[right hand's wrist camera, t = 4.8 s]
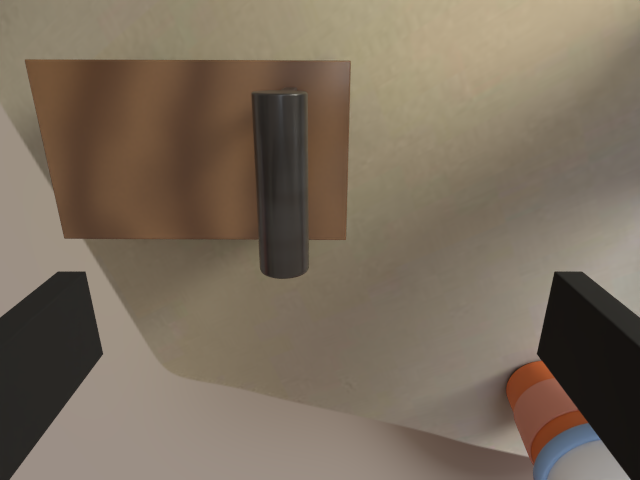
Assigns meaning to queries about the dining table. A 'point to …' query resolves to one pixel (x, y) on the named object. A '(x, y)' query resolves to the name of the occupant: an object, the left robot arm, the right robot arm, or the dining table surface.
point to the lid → (199, 151)
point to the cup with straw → (557, 430)
